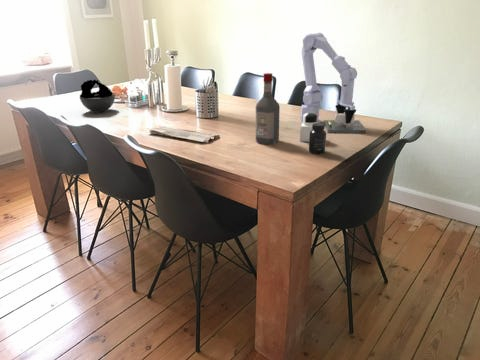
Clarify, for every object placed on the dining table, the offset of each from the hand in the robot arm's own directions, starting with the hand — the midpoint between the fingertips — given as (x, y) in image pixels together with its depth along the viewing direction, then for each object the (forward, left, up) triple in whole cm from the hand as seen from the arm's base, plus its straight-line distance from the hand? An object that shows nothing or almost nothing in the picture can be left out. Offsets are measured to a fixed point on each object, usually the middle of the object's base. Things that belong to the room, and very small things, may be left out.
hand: (344, 121), depth 195 cm
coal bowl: (-140, +32, -4) cm, 144 cm away
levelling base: (0, 0, -3) cm, 3 cm away
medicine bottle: (-19, -20, -4) cm, 28 cm away
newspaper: (-79, -16, -4) cm, 81 cm away
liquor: (-38, -23, -4) cm, 45 cm away
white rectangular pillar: (0, 0, -2) cm, 2 cm away
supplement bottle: (-17, -37, -4) cm, 41 cm away
